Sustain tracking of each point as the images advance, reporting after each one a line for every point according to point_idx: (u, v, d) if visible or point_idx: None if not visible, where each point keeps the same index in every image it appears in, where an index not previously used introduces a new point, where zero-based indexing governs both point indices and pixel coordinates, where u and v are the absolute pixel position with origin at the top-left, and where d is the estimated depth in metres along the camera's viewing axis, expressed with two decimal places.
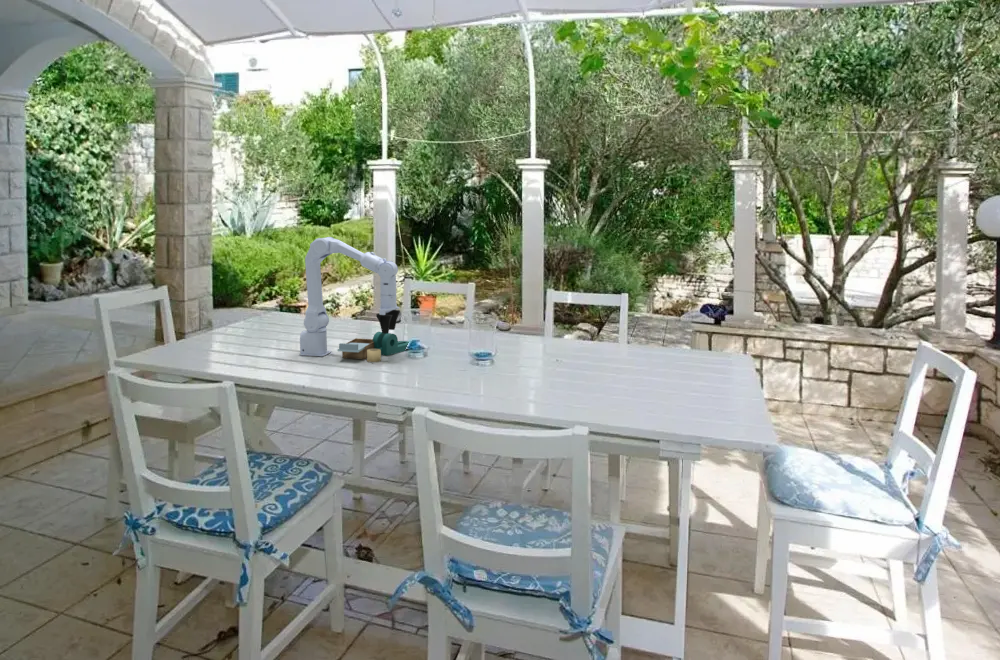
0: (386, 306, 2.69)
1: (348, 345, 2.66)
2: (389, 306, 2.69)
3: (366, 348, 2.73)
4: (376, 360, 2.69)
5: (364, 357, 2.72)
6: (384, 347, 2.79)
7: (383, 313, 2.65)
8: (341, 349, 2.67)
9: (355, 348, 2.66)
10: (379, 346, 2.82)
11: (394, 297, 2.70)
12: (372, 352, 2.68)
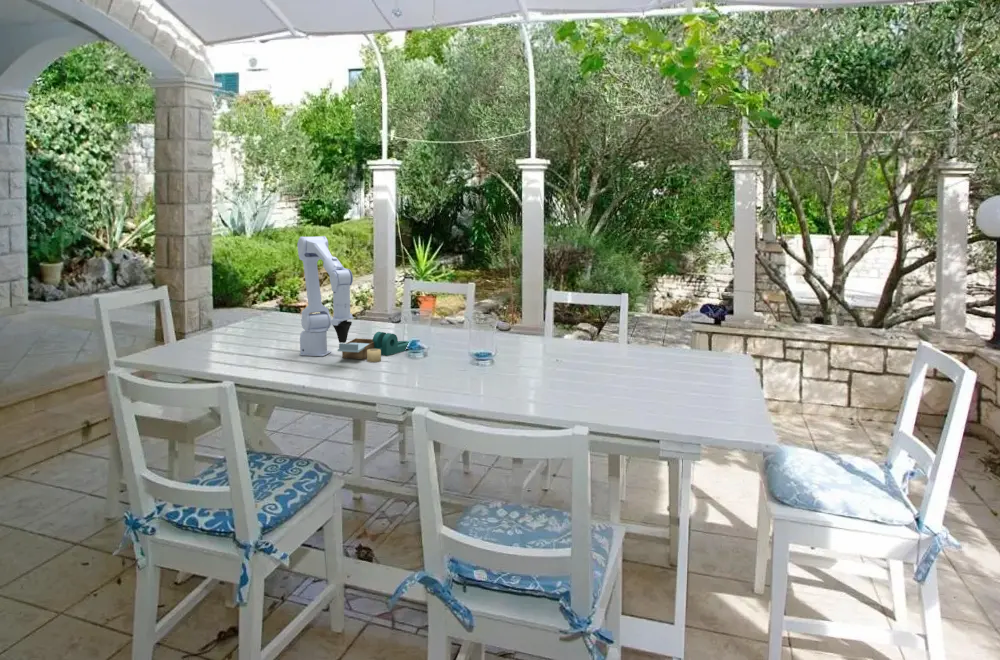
0: (339, 316, 2.56)
1: (348, 345, 2.66)
2: (342, 316, 2.56)
3: (366, 348, 2.73)
4: (376, 360, 2.69)
5: (364, 357, 2.72)
6: (384, 347, 2.79)
7: (335, 323, 2.52)
8: (341, 349, 2.67)
9: (355, 348, 2.66)
10: (379, 346, 2.82)
11: (348, 306, 2.57)
12: (372, 352, 2.68)
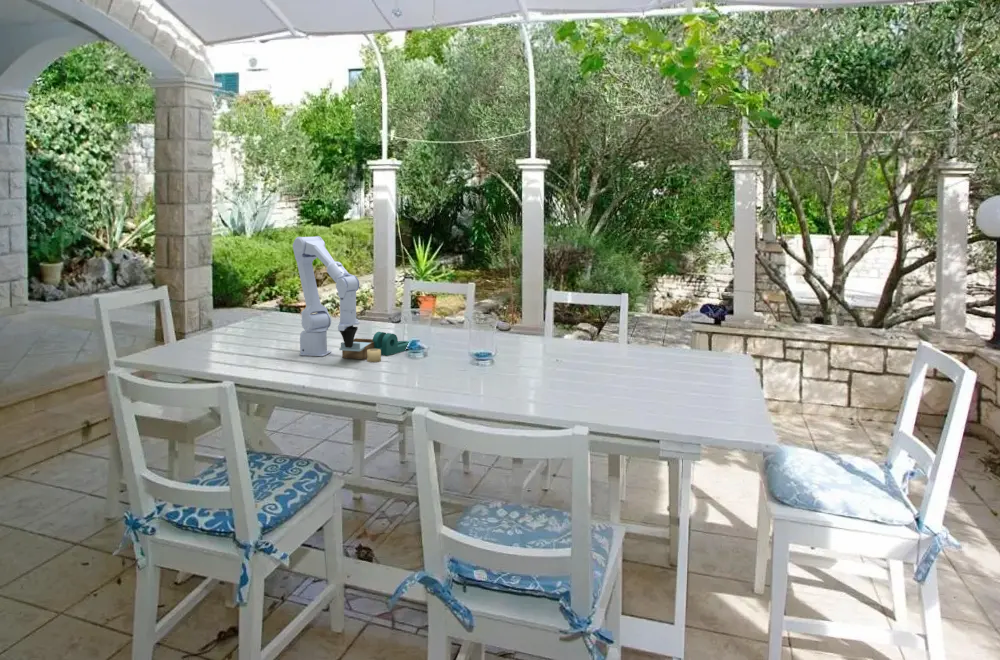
0: (345, 321, 2.63)
1: None
2: (349, 321, 2.63)
3: (366, 348, 2.73)
4: (376, 360, 2.69)
5: (364, 357, 2.72)
6: (384, 347, 2.79)
7: (342, 329, 2.59)
8: (343, 348, 2.69)
9: (357, 347, 2.68)
10: (379, 346, 2.82)
11: (354, 312, 2.64)
12: (372, 352, 2.68)
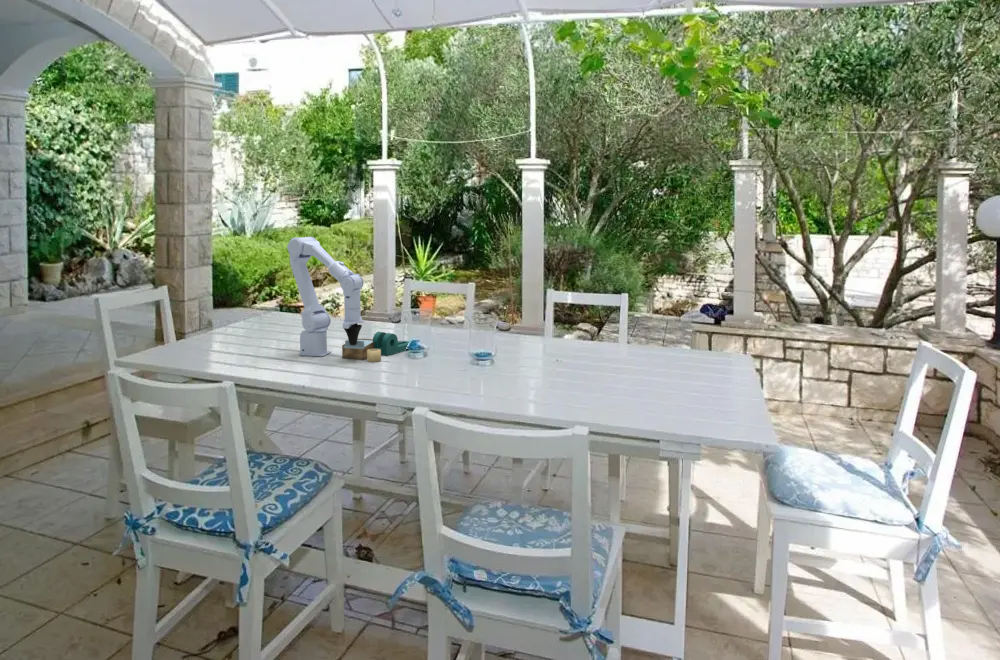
0: (350, 319, 2.67)
1: None
2: (353, 319, 2.67)
3: (366, 348, 2.73)
4: (376, 360, 2.69)
5: (364, 357, 2.72)
6: (384, 347, 2.79)
7: (346, 327, 2.63)
8: (347, 346, 2.73)
9: (361, 345, 2.72)
10: (379, 346, 2.82)
11: (358, 310, 2.68)
12: (372, 352, 2.68)
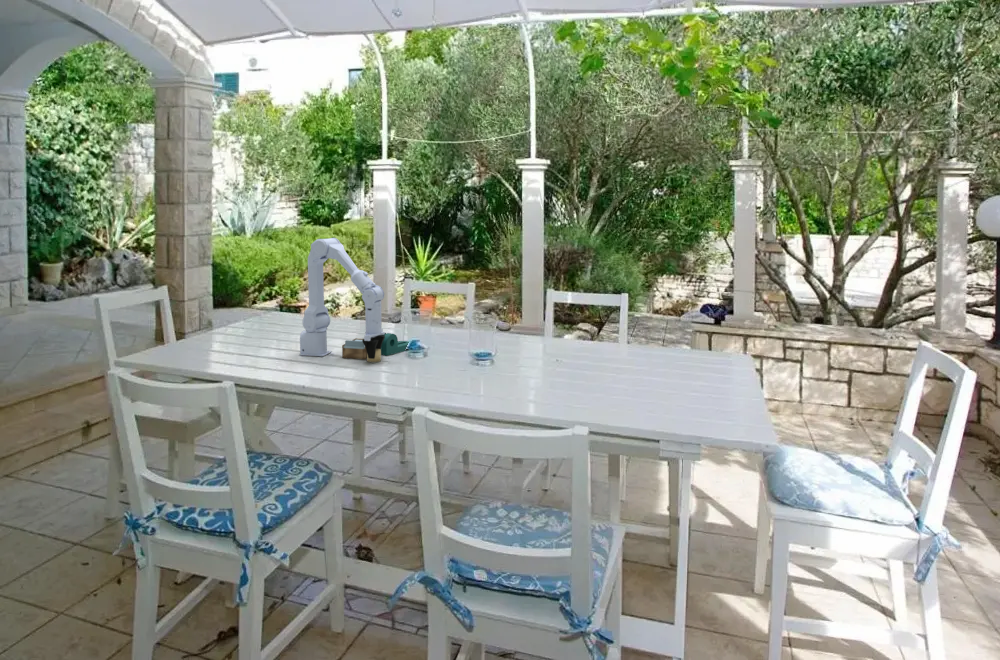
0: (371, 332, 2.66)
1: (354, 342, 2.72)
2: (374, 331, 2.66)
3: None
4: (376, 360, 2.69)
5: (364, 357, 2.72)
6: (384, 347, 2.79)
7: (368, 339, 2.62)
8: (347, 346, 2.73)
9: (361, 345, 2.72)
10: None
11: (379, 322, 2.67)
12: None
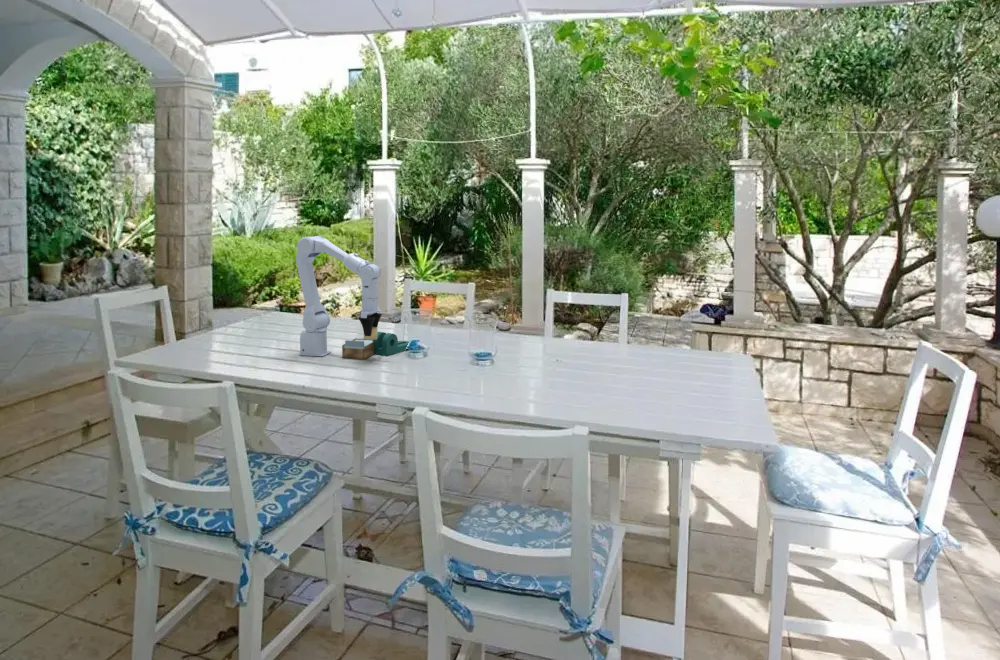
0: (368, 309, 2.66)
1: (354, 342, 2.72)
2: (371, 309, 2.66)
3: (366, 348, 2.73)
4: (373, 338, 2.69)
5: (364, 357, 2.72)
6: (384, 347, 2.79)
7: (364, 316, 2.62)
8: (347, 346, 2.73)
9: (361, 345, 2.72)
10: (379, 346, 2.82)
11: (376, 300, 2.67)
12: None
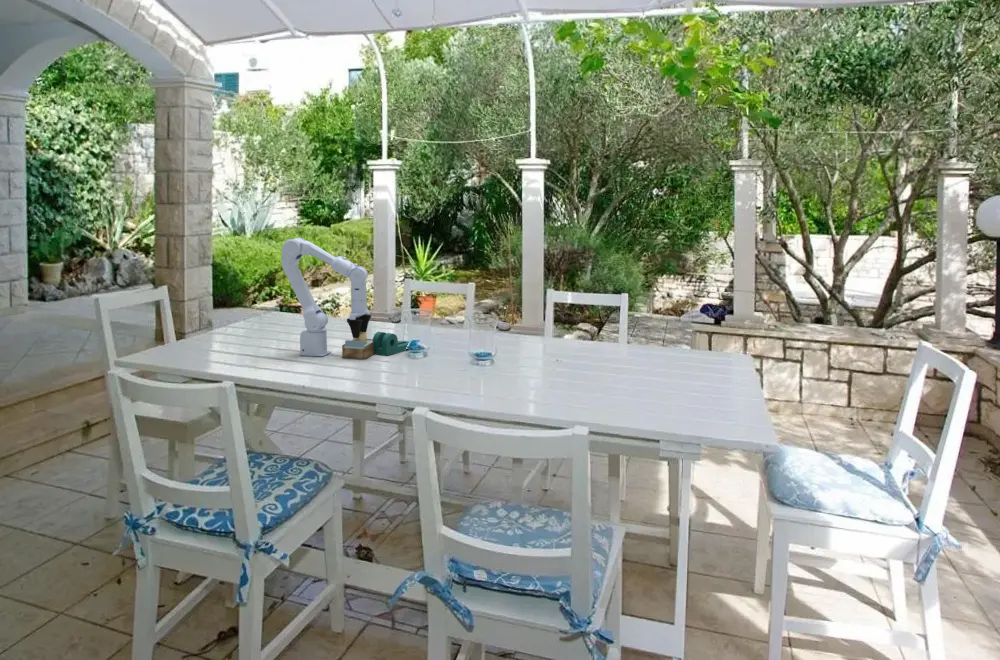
0: (356, 311, 2.73)
1: (354, 342, 2.72)
2: (359, 311, 2.73)
3: (366, 348, 2.73)
4: None
5: (364, 357, 2.72)
6: (384, 347, 2.79)
7: (353, 318, 2.69)
8: (347, 346, 2.73)
9: (361, 345, 2.72)
10: (379, 346, 2.82)
11: (364, 302, 2.74)
12: None
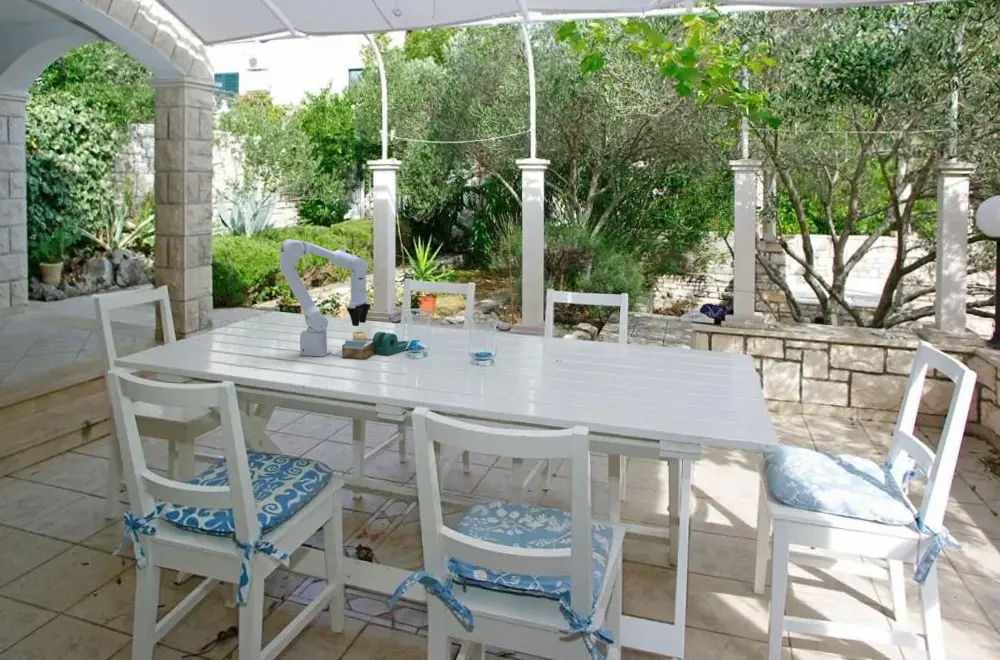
0: (356, 300, 2.81)
1: (354, 342, 2.72)
2: (359, 300, 2.81)
3: (366, 348, 2.73)
4: None
5: (364, 357, 2.72)
6: (384, 347, 2.79)
7: (353, 306, 2.77)
8: (347, 346, 2.73)
9: (361, 345, 2.72)
10: (379, 346, 2.82)
11: (364, 291, 2.82)
12: (357, 335, 2.75)
